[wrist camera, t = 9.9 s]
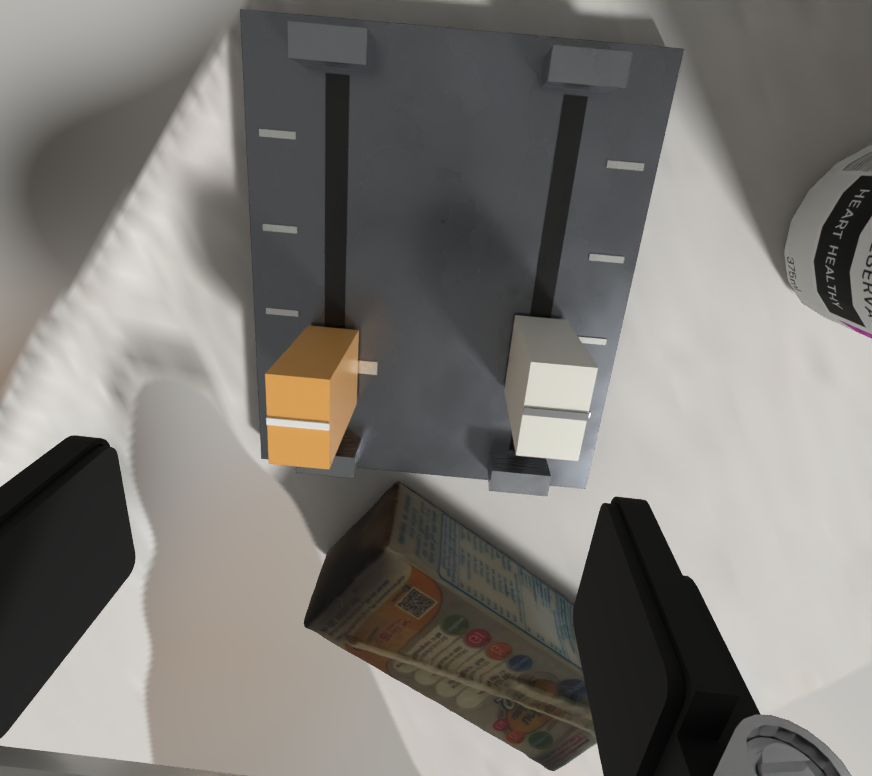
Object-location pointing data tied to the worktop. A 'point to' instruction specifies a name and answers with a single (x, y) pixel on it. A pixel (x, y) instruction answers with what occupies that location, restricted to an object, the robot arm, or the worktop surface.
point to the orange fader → (312, 397)
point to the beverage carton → (457, 626)
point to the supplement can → (835, 245)
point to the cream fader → (548, 388)
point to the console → (445, 220)
